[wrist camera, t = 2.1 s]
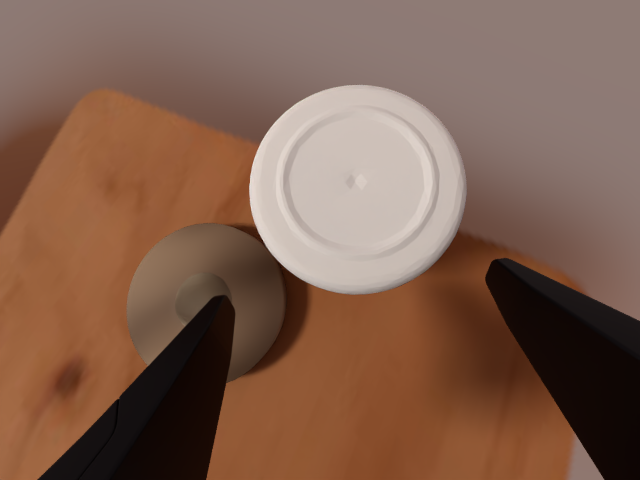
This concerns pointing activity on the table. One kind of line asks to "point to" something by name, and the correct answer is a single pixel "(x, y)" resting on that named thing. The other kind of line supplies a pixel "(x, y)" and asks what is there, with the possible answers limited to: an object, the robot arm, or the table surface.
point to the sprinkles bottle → (358, 189)
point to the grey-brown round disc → (207, 291)
